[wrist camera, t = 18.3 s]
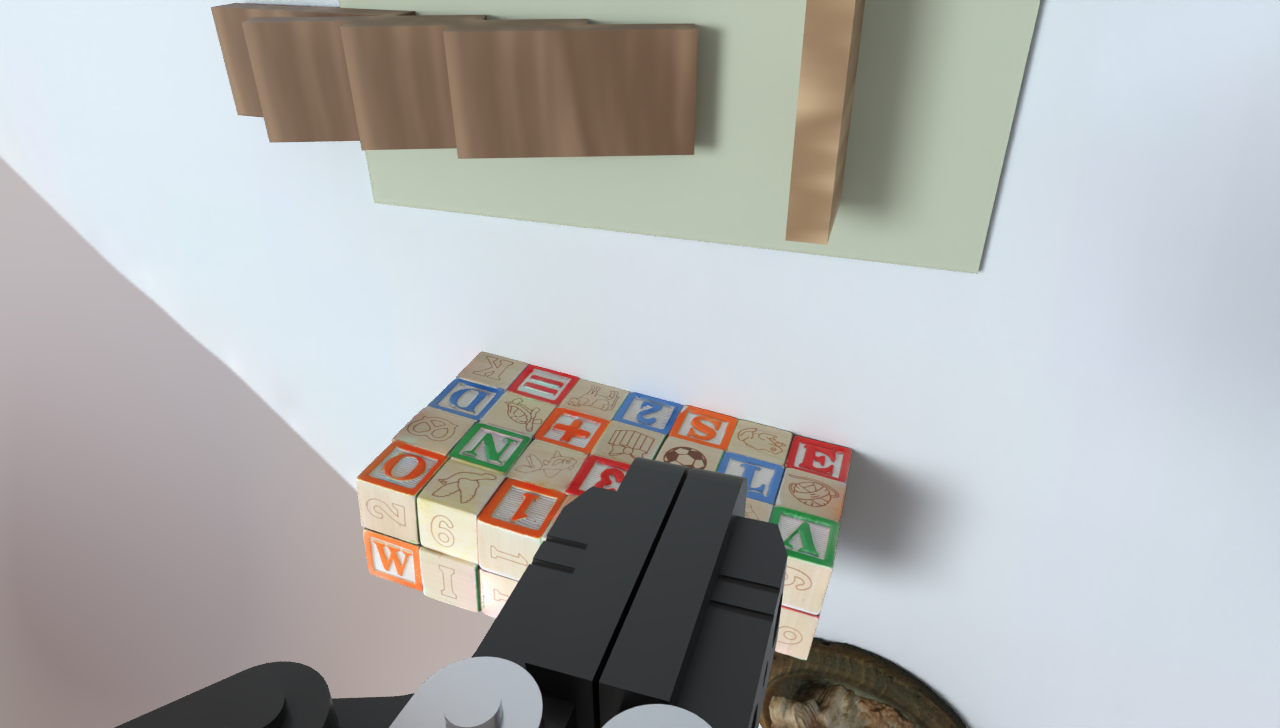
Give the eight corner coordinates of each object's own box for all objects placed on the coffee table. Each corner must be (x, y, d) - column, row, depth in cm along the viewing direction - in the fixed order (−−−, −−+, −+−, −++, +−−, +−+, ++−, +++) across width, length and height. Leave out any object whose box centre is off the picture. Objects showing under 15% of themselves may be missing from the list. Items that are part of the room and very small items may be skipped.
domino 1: (395, 15, 36) (210, 7, 38) (412, 130, 38) (237, 114, 41) (415, 10, 37) (235, 3, 39) (430, 122, 39) (259, 107, 42)
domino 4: (698, 29, 32) (443, 31, 32) (694, 154, 35) (457, 158, 34) (693, 23, 33) (449, 25, 33) (690, 144, 36) (463, 148, 35)
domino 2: (483, 20, 34) (241, 22, 34) (494, 138, 37) (269, 142, 36) (486, 14, 36) (254, 17, 35) (497, 128, 38) (280, 133, 38)
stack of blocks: (856, 444, 42) (828, 623, 31) (830, 533, 45) (798, 721, 35) (479, 349, 46) (350, 479, 36) (481, 436, 50) (363, 577, 39)
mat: (1078, -171, 27) (1080, -172, 27) (977, 270, 35) (977, 273, 35) (316, -157, 35) (310, -158, 35) (378, 200, 43) (374, 202, 43)
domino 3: (588, 24, 33) (339, 27, 33) (591, 145, 36) (361, 150, 35) (587, 18, 35) (349, 21, 34) (591, 136, 37) (369, 140, 37)
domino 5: (860, -47, 26) (827, 245, 31) (872, -57, 30) (840, 202, 35) (810, -48, 26) (785, 240, 31) (828, -57, 30) (803, 199, 36)
